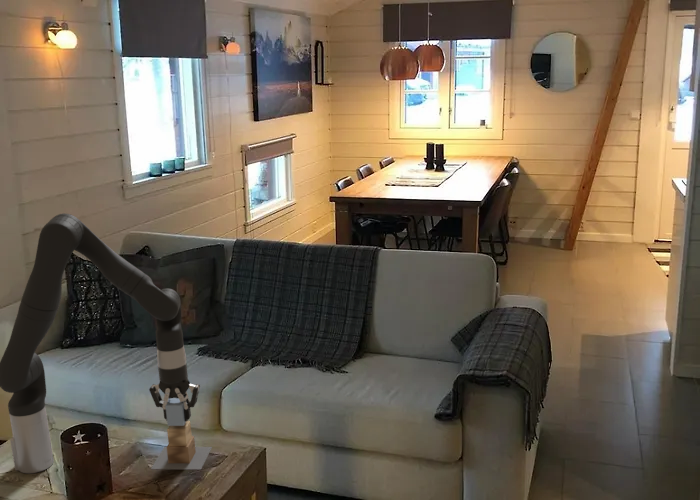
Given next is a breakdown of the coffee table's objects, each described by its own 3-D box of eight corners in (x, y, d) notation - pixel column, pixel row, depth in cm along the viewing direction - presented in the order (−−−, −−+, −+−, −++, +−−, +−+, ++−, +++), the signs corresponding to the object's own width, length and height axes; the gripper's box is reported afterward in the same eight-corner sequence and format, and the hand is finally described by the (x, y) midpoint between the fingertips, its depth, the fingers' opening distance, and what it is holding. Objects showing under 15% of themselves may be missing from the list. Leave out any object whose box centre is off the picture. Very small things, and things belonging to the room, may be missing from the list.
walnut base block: (168, 463, 206) (166, 447, 204) (174, 452, 211) (173, 436, 210) (189, 463, 205) (188, 447, 204) (195, 452, 211) (194, 436, 210)
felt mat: (150, 471, 203) (150, 469, 203) (164, 448, 215) (164, 446, 215) (201, 471, 202) (200, 469, 202) (212, 448, 214) (212, 446, 213)
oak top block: (168, 446, 205) (167, 429, 204) (174, 437, 210) (172, 420, 208) (186, 446, 204) (185, 429, 203) (191, 437, 209) (190, 420, 208)
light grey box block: (167, 425, 203) (165, 405, 202) (172, 417, 208) (170, 398, 206) (183, 425, 203) (181, 405, 202) (188, 417, 207) (186, 398, 206)
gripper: (141, 368, 198) (148, 426, 202) (194, 367, 197) (199, 426, 201) (150, 357, 205) (157, 413, 210) (201, 356, 204) (207, 413, 208)
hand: (178, 419), depth 205 cm, fingers closed on light grey box block, 4 cm apart
